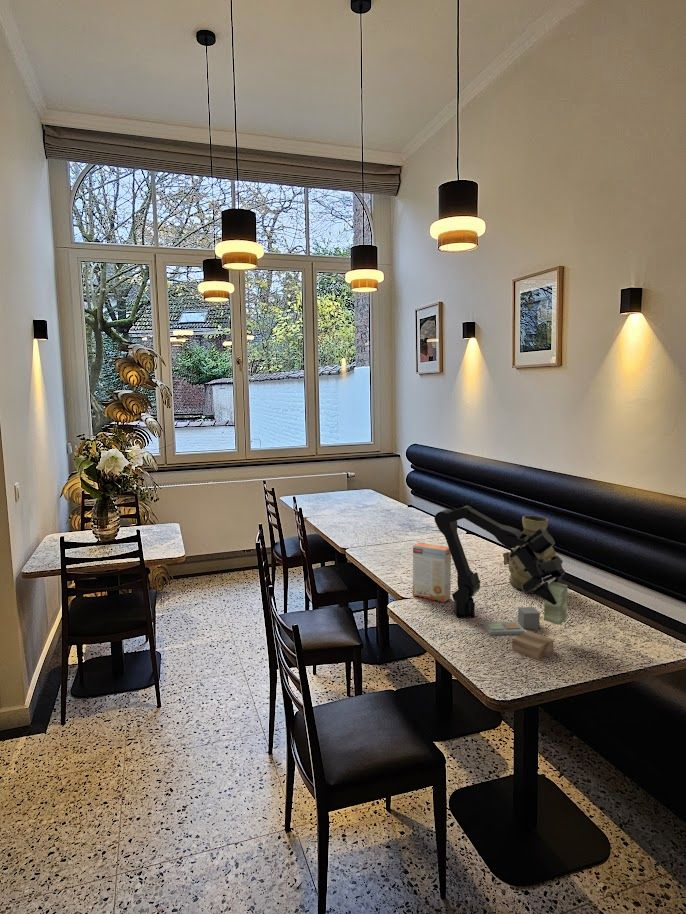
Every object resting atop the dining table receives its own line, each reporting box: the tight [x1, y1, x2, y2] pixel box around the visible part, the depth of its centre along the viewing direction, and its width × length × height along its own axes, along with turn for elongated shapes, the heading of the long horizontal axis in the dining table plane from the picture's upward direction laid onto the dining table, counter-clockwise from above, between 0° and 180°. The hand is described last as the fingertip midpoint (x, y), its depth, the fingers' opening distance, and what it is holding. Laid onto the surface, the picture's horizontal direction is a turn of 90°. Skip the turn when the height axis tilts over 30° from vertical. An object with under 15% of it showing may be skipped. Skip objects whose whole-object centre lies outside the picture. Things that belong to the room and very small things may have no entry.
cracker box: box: [412, 542, 452, 603], centre depth 230 cm, size 14×6×21 cm, turn 56°
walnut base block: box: [511, 630, 555, 660], centre depth 185 cm, size 9×9×4 cm
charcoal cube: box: [517, 606, 541, 630], centre depth 204 cm, size 6×6×6 cm
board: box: [482, 621, 526, 636], centre depth 201 cm, size 12×8×1 cm, turn 94°
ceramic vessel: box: [502, 515, 557, 594], centre depth 240 cm, size 19×21×30 cm
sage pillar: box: [543, 582, 569, 626], centre depth 192 cm, size 5×5×12 cm
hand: (559, 602), depth 191 cm, fingers closed on sage pillar, 5 cm apart
